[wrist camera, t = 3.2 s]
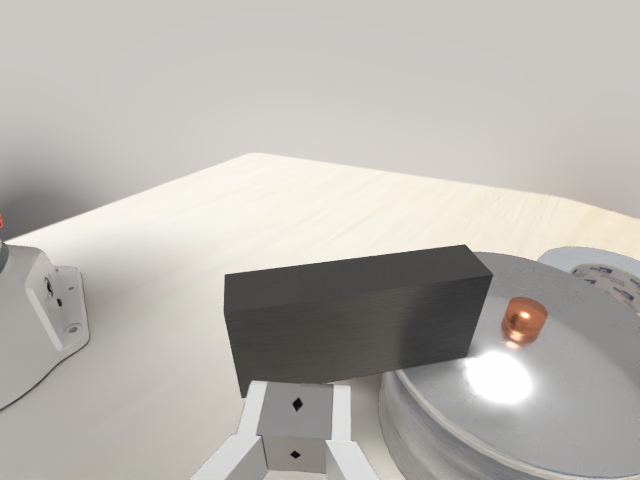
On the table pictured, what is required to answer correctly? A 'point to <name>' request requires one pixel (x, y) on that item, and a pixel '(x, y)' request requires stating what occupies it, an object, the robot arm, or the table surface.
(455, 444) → the cooker pot
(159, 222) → the table surface
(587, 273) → the tape roll
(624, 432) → the lid
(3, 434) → the table surface
